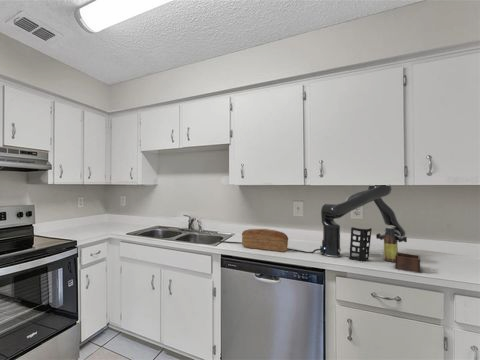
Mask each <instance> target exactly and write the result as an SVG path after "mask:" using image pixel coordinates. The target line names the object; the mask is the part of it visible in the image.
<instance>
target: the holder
mask: <svg viewBox="0 0 480 360" xmlns="http://www.w3.org/2000/svg"><path fill="white" fill-rule="evenodd" d="M354 231H355V232H359V234H357V233H354ZM372 231H373V229H372V227H370V228H357V227H353V226H352V227H350V241H349V256H348V258H349V260H356V261H360V262H366V261H368V260H369V258H370V249H371V239H372ZM368 233H369V234H368ZM354 237H355V239H354ZM353 243H358V244H359V245H355V244H353ZM353 248H355V249H354V250H353ZM353 254H358V256H357V255H355V256H354V255H353Z"/></svg>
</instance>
